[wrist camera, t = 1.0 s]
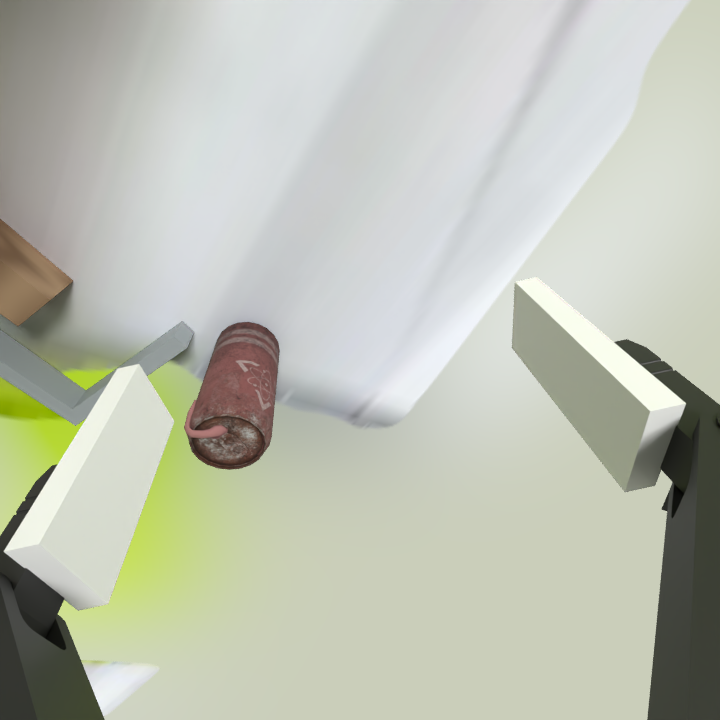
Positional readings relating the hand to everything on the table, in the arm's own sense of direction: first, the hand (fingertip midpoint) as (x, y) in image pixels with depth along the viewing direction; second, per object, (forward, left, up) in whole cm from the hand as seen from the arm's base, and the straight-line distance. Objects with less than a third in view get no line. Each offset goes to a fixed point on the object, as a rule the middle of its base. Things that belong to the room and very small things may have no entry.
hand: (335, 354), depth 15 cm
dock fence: (-3, -25, -24) cm, 35 cm away
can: (+7, -14, -25) cm, 29 cm away
